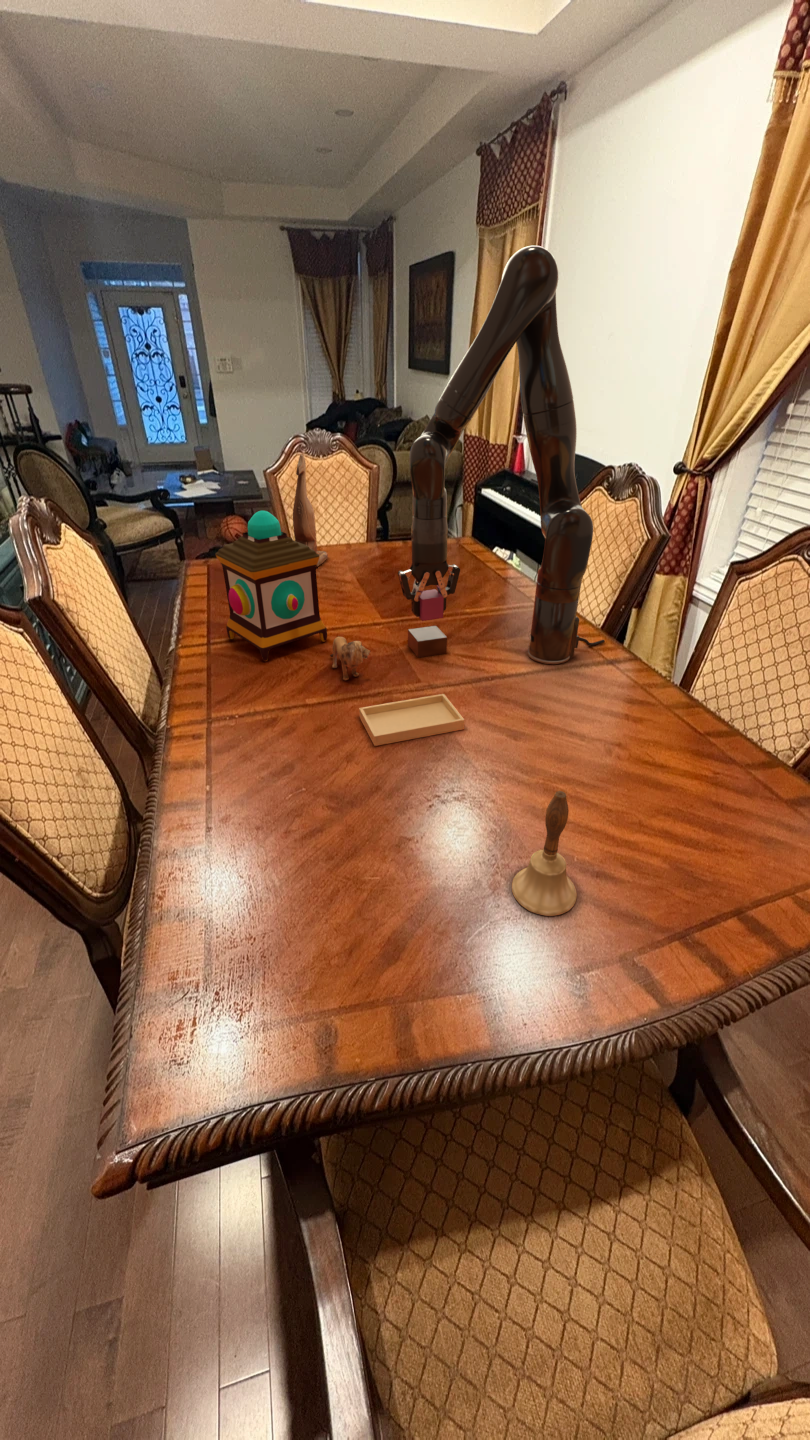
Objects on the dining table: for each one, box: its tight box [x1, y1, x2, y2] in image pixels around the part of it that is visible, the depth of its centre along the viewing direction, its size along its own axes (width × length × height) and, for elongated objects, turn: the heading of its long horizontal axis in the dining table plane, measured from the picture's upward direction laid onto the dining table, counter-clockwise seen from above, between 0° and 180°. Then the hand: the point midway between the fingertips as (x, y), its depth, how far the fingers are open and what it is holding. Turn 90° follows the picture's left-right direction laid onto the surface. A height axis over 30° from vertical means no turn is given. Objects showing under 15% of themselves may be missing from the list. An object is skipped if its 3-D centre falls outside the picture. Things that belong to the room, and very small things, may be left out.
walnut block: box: [407, 625, 448, 658], centre depth 140 cm, size 7×7×4 cm
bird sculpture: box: [292, 454, 329, 568], centre depth 187 cm, size 11×12×32 cm
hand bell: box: [511, 790, 578, 917], centre depth 75 cm, size 8×8×16 cm
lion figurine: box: [329, 636, 371, 681], centre depth 129 cm, size 15×5×9 cm, turn 33°
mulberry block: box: [418, 588, 444, 622], centre depth 135 cm, size 5×5×5 cm
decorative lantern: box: [215, 510, 328, 662], centre depth 137 cm, size 20×20×30 cm
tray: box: [358, 693, 466, 747], centre depth 113 cm, size 17×10×2 cm, turn 109°
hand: (428, 613), depth 136 cm, fingers closed on mulberry block, 5 cm apart
